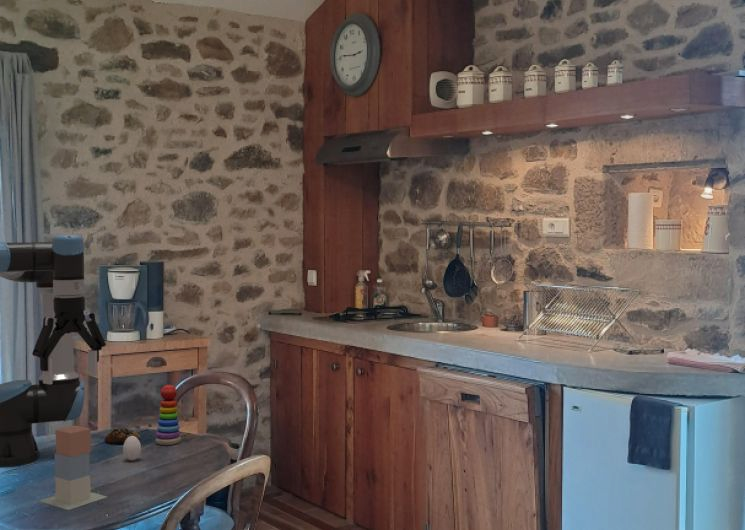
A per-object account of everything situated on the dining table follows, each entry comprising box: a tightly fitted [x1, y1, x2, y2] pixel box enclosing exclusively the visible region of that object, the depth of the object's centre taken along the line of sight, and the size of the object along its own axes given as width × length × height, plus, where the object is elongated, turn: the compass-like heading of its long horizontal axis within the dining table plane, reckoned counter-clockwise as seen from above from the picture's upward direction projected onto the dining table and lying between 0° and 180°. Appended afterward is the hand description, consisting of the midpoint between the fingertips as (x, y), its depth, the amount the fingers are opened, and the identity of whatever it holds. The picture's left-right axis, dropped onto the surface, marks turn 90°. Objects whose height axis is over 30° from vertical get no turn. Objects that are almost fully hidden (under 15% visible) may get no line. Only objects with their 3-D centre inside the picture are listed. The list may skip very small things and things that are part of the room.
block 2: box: [54, 452, 91, 481], centre depth 223 cm, size 6×6×6 cm
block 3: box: [54, 474, 91, 504], centre depth 223 cm, size 6×6×6 cm
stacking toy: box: [155, 384, 182, 446], centre depth 281 cm, size 8×8×19 cm
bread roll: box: [104, 428, 141, 446], centre depth 284 cm, size 11×11×5 cm
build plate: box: [39, 491, 108, 511], centre depth 224 cm, size 12×12×1 cm
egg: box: [122, 436, 142, 461], centre depth 261 cm, size 5×5×7 cm
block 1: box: [55, 425, 92, 457], centre depth 223 cm, size 6×6×6 cm
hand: (70, 379), depth 222 cm, fingers open, 13 cm apart
